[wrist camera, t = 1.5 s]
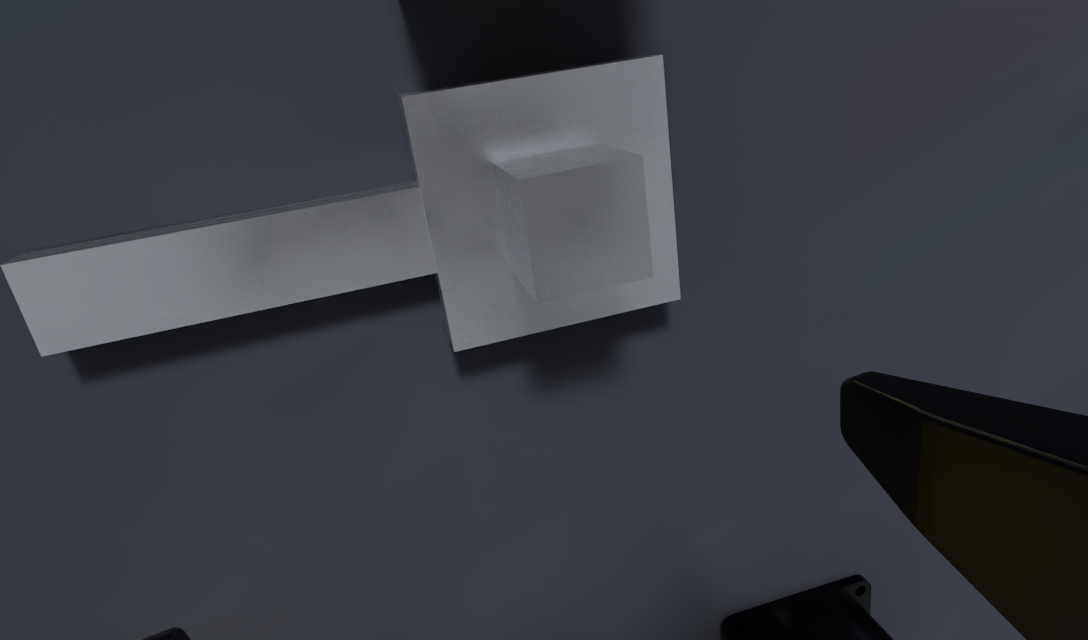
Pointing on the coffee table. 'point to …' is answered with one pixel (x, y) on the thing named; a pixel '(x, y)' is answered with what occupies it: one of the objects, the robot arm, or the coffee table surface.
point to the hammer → (417, 224)
